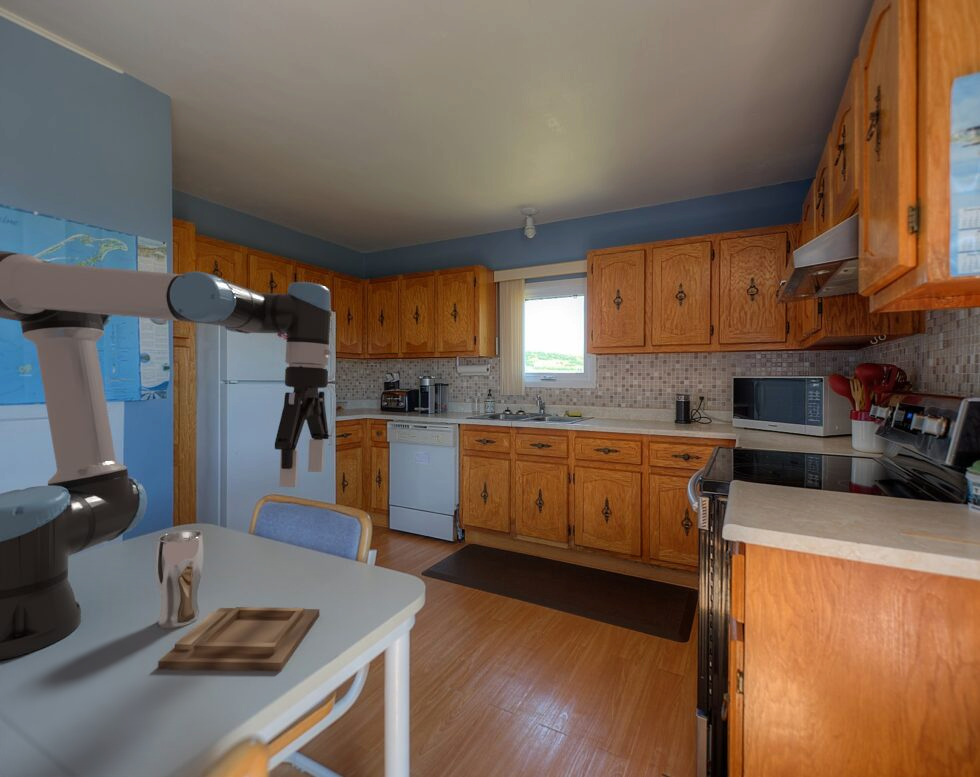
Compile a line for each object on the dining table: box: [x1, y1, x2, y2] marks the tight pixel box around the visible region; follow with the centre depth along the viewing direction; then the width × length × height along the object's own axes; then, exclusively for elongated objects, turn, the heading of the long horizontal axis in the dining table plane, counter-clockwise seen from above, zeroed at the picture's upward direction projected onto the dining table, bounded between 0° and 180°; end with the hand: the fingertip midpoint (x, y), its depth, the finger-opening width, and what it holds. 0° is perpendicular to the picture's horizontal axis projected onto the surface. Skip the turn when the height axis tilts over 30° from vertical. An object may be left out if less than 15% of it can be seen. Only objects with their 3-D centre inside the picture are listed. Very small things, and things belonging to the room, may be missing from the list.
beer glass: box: [155, 529, 205, 630], centre depth 81 cm, size 7×7×15 cm
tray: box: [157, 606, 320, 672], centre depth 76 cm, size 18×16×2 cm
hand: (302, 478), depth 87 cm, fingers open, 13 cm apart
